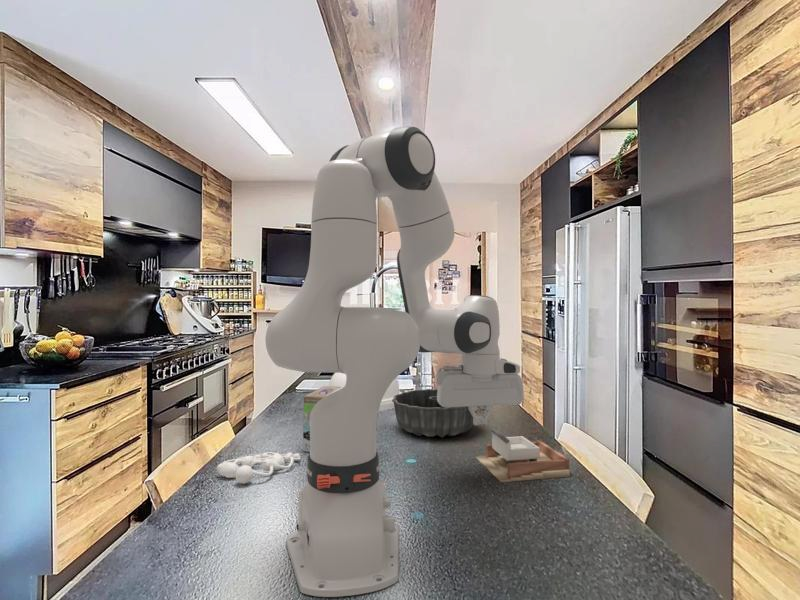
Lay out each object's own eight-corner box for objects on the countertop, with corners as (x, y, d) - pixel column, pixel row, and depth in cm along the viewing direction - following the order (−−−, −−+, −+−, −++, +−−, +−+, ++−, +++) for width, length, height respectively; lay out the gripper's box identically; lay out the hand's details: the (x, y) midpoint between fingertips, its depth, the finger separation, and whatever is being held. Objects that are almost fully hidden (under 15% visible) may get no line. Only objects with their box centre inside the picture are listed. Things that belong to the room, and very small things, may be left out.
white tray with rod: (539, 465, 108) (540, 437, 108) (505, 467, 106) (505, 439, 106) (522, 452, 117) (522, 426, 117) (490, 454, 115) (490, 428, 115)
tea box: (338, 455, 120) (338, 397, 119) (301, 452, 122) (301, 395, 121) (355, 437, 134) (355, 386, 134) (322, 435, 136) (322, 384, 136)
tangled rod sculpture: (277, 456, 122) (276, 440, 123) (314, 464, 114) (314, 447, 114) (207, 478, 107) (207, 459, 107) (245, 488, 98) (244, 468, 98)
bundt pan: (380, 438, 133) (380, 403, 133) (406, 415, 158) (406, 386, 158) (472, 447, 125) (472, 410, 125) (484, 422, 151) (484, 391, 150)
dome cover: (315, 397, 186) (315, 362, 186) (386, 391, 198) (386, 358, 198) (335, 417, 157) (335, 375, 157) (417, 408, 168) (417, 369, 168)
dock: (571, 476, 106) (571, 460, 106) (500, 482, 102) (500, 465, 102) (537, 452, 121) (537, 438, 121) (475, 457, 118) (475, 442, 118)
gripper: (440, 367, 104) (440, 430, 104) (526, 366, 108) (526, 426, 108) (433, 364, 110) (433, 423, 110) (515, 362, 114) (515, 419, 114)
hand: (480, 424), depth 109 cm, fingers closed
